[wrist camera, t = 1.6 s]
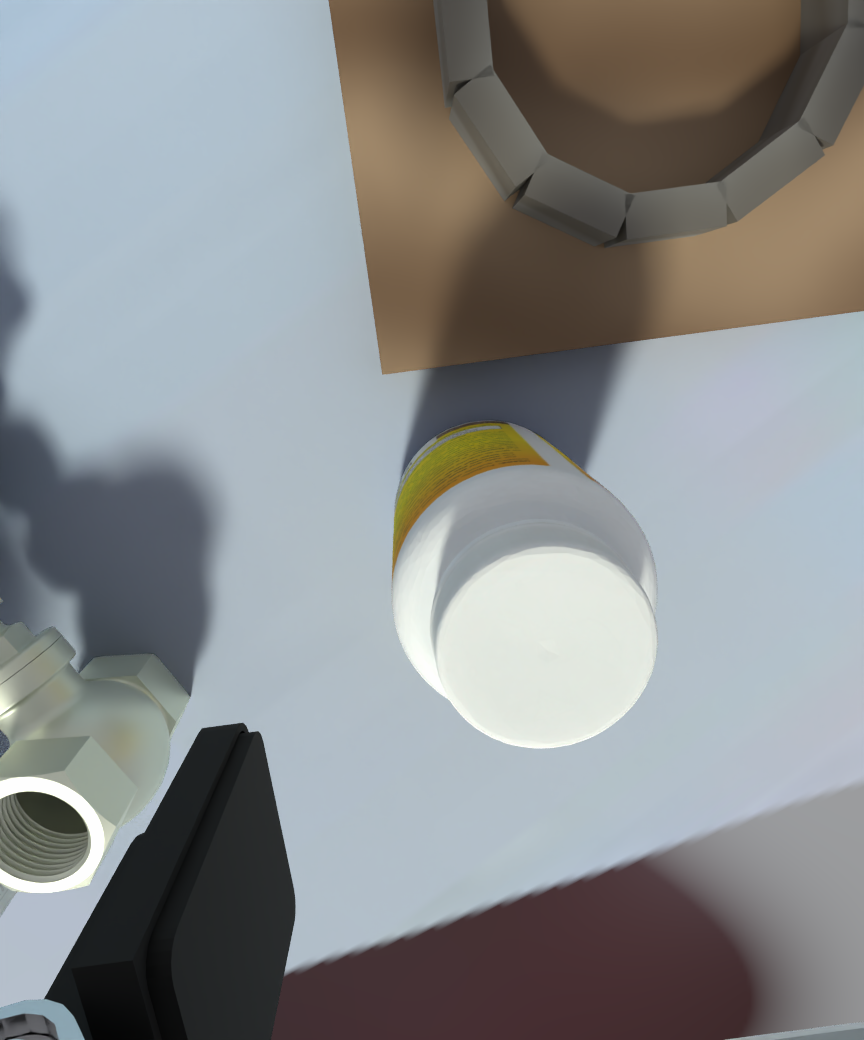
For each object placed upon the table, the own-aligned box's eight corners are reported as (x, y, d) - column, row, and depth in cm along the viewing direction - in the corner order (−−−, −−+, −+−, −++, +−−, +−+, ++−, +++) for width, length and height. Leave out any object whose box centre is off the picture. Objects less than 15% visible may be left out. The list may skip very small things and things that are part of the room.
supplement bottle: (366, 549, 23) (336, 725, 13) (440, 386, 21) (471, 440, 11) (524, 616, 23) (611, 830, 13) (604, 462, 22) (766, 575, 12)
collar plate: (293, -264, 17) (265, -409, 14) (915, -346, 17) (1040, -511, 14) (383, 371, 21) (379, 380, 18) (888, 304, 21) (981, 300, 18)
